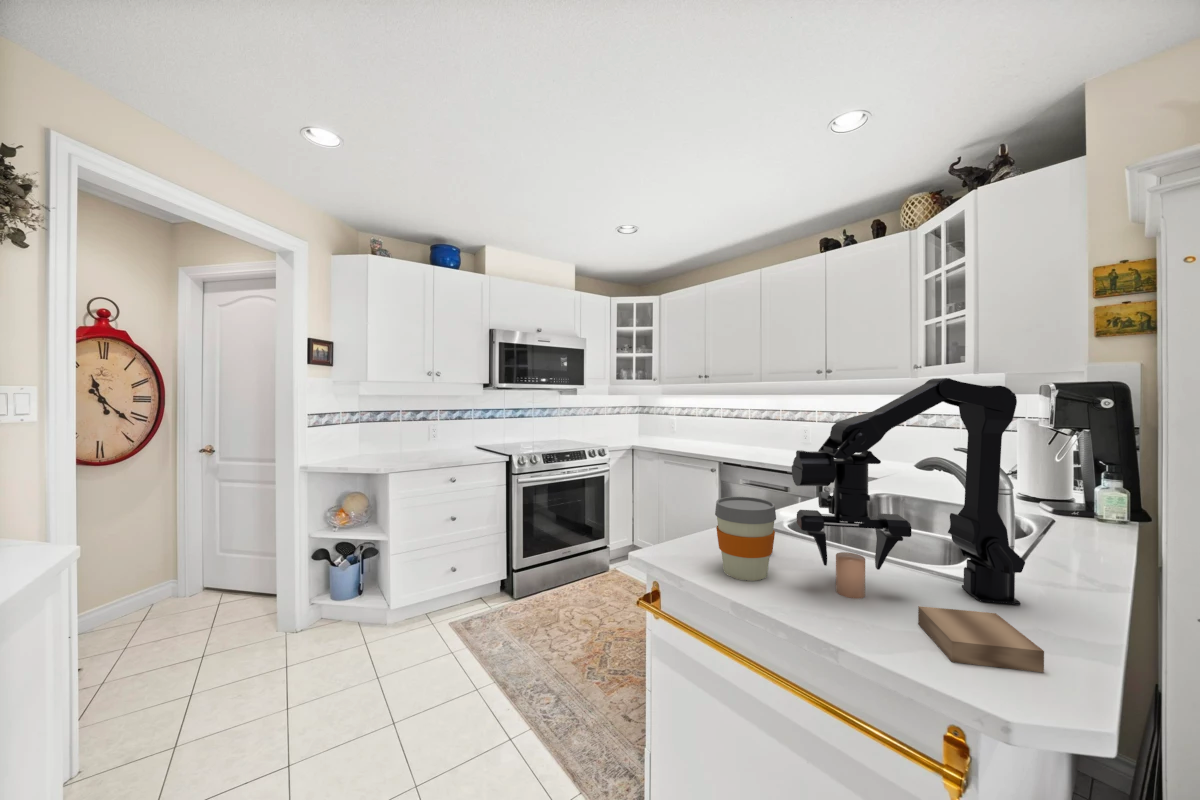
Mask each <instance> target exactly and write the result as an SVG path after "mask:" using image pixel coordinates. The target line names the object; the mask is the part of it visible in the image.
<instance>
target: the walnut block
mask: <svg viewBox="0 0 1200 800" xmlns="http://www.w3.org/2000/svg"><path fill="white" fill-rule="evenodd" d="M917 608H918V609H917V610H918V612H917V613H918V614H917V615H918V616H917V618H918V619H917V621H918V624H917V625H919V627H920V628H921V629H922V630H923V631H924V632H925V633H926V634H927V636H928V637H929V638H930V639H931V641H933V642H934V644H935V645H936V646H937V647H938V648H939V649H940V650H941V652H942V653H943V654H944V655H945V656H946V657H947V658H948V659H949V661H951V663H958V664H959V663H960V664H967V665H975V666H984V667H992V668H994V667H995V668H1002V669H1011V670H1019V671H1020V670H1021V671H1028V672H1029V671H1030V672H1037V673H1045V650H1044V649H1042V648H1041V647H1040V646H1038V645H1037V644H1035V643H1034V641H1032V640H1031V639H1029V638H1028V637H1027V636H1026V635H1024V634H1023V633H1022V632H1021V631H1019V630H1018V629H1017V628H1015V626H1013V625H1011V624H1010V623H1009V622H1008V621H1007V620H1005V619H1004V618H1002V617H1001V616H1000V615H999V614H997V613H996V612H987V611H986V612H984V611H975V610H974V611H973V610H965V609H953V608H942V607H941V608H940V607H933V606H932V607H931V606H923V605H920V606H918V607H917Z"/></svg>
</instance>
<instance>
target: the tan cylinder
mask: <svg viewBox="0 0 1200 800" xmlns="http://www.w3.org/2000/svg"><path fill="white" fill-rule="evenodd" d="M835 592H836V593H837V594H838V595H840V596H842V597H845V598H847V599H854V600H855V599H857V600H858V599H859V600H860V599H864V598H865V597H866V557H864V556H863V555H861V554H858V553H853V552H845V551H843V552H837V553H836V554H835Z"/></svg>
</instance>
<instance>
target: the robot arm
mask: <svg viewBox="0 0 1200 800" xmlns="http://www.w3.org/2000/svg"><path fill="white" fill-rule="evenodd" d="M1017 398H1018V397H1017V394H1016V393H1015V392H1013V391H1012V390H1011V389H1010V388H1009V387H1007V386H1005V385H979V384H974V383H970V382H962V381H959V380H956V379H952V378H949V377H941V378H937V377H936V378H930V379H928V380H927V381H925V383H924V384H921V385H919V386H918V387H916V388H914V389H911V390H910V391H908V392H907V393H904V394H903V395H901V396H899V397H897V398H895V399H893V400H891V401H890V402H888V403H886V404H883V405H882V406H880V407H879V408H877V409H875V410H873V411H869V412H867V413H863V414H859V415H854V416H852V417H848V418H845V419H842V420H840V421H837V422H835V423H834V424H833V425H832V426H831V429H830V432H829V433H830V434H829V436H828V438H827V439H826V440H825V441H824V443H823V444H822V446H820V448H819V449H818V451H807V450H796V451H795V457H794V459H793V462H792V465H791V475H792V480H793V484H794V485H795V486H797V487H829V486H830V485H831V484H833V486H834V487H833V491H832V495H831V492H829V491H818V498H817V499H818V507H819V509H828V514H831V515H832V516H831V515H822V513H821V512H820V511H819V510H817V509H816V510H814V509H799V510H798V511H797V512H796V513H797V514H796V523H797V525H798V527H799V529H800V530H801V531H805V532H806V533H807V534H808V535H809V536H811V537H812V536H813V539H814V542H815V543H816V546H817V549H818V552H819V555H820V558H821V560H822V564H823V565H824V566H825V567H826V566H827V565H828V549H827V548H828V547H827V535H826V533H825V531H824V530H823V529H824V528H825V527H826V526H827V527H838V528H856V529H858V528H859V529H860V528H861V529H874V530H875V536H876V543H875V544H876V545H875V555H874V565H875V569H876V570H880V569H881V568H882V566H883V564H884V562H885V561H886V559H887V557H888V556H889V554H890V552H891V551H892V550H893V548H894V547H895V545H896V544H897V543H898V542H903V541H904V537H905V538H910V537H912V525H911V523H910V522H909V521H908V520H907V519H905V517H903V516H901V515H900V514H896V513H895V514H893V513H877V516H876V517H874V518H871V517H870V516H869V502H870V501H871V495H870V494H869V465H880V464H881V463H882V461H881V459H879V458H878V457H876V456H875V455H874V453H873V452H872V451H871V450H870V449H871V448H873V447H874V446H875V445H876V444H878V443H879V442H880V441H881V440H882V439H883V438H884V436H886V434H887V433H889V431H890V430H892V429H894V428H895V427H897V426H900V425H901V424H903V423H905V422H907V421H909V420H911V419H912V418H915V417H917V416H918V415H920V414H922V413H924V412H926V411H928V410H929V409H930V410H931V408H934V407H936V406H937V405H939V404H941V403H945V404H947V405H951V406H955V407H958V409H959V417H960V420H961V421H962V423H963V425H964V427H965V429H966V430H967V447H966V467H965V468H966V469H965V484H964V485H965V487H964V504H963V507H962V508H961V510H960V511H959V512H958V513H954V512H953V513H952V512H951V513H950V514H949V525H950V526H949V529H948V531H947V534H948V535H949V534H950V535H951V536H950V537H951V541H952V543H954V545H955V546H957V548H958V550H959V552H960V554H961V556H963V557H966V558H967V559H966V566H965V567H964V568H963V584H962V585H961V588H962V589H963V590H964V591H965V592H967V593H968V594H969V595H971V596H972V597H973V598H975V599H976V600H977V601H979V602H983V603H992V604H993V603H994V604H995V603H996V604H1005V605H1006V604H1007V605H1019V606H1020V605H1021V601H1020V600H1018V599H1017V598H1015V593H1016V592H1015V590H1016V588H1015V586H1016V585H1015V582H1016V580H1015V579H1016V578H1015V577H1016V575H1015V574H1017V573H1023V570H1024V567H1025V565H1026V561H1025V560H1024V559H1023V558H1022V557H1021V556H1020V555H1019V554H1018V553H1017V552H1015V550H1013V548H1011V547H1010V542H1009V535H1008V529H1007V526H1006V525H1005V522H1004V521H1003V519H1002V517H1001V515H1000V513H999V500H1000V499H999V497H1000V480H1001V479H1000V478H1001V475H1000V474H1001V461H1002V460H1001V459H1002V439H1003V434H1004V433H1005V431H1006V430H1007V428H1008V427H1009V426H1010V425H1011V423H1012V422H1013V420H1014V416H1015V413H1016V407H1017V403H1018V401H1017V400H1018V399H1017ZM833 515H834V516H833Z"/></svg>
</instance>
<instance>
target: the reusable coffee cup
mask: <svg viewBox="0 0 1200 800" xmlns="http://www.w3.org/2000/svg"><path fill="white" fill-rule="evenodd" d="M775 505H776V503H774V502H772V501H770V500H767V499H762V498H757V497H750V496H727V497H721V498H718V499H717V500H716V502H715V512H714V515H715V517H716V520H717V525H716V527H715V528H716V536H717V543H718V549H719V550H720V552H721V559H722V567H723V568H722V569H723V571H724V573H725V575H727V574H728V575H729V577H730V576H731V578H734V579H736V580H741V581H746V580H747V581H749V582H750V581H752V582H754V581H762V580H764V579H766V578H767V577H768V570H769V565H770V556H771V555H772V554H773V550H774V543H775V535H776V532H775V531H776V530H774V527H775V522H776V520H777V515H776V514H777V512H776V506H775ZM728 575H727V576H728ZM761 579H762V580H761Z"/></svg>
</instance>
